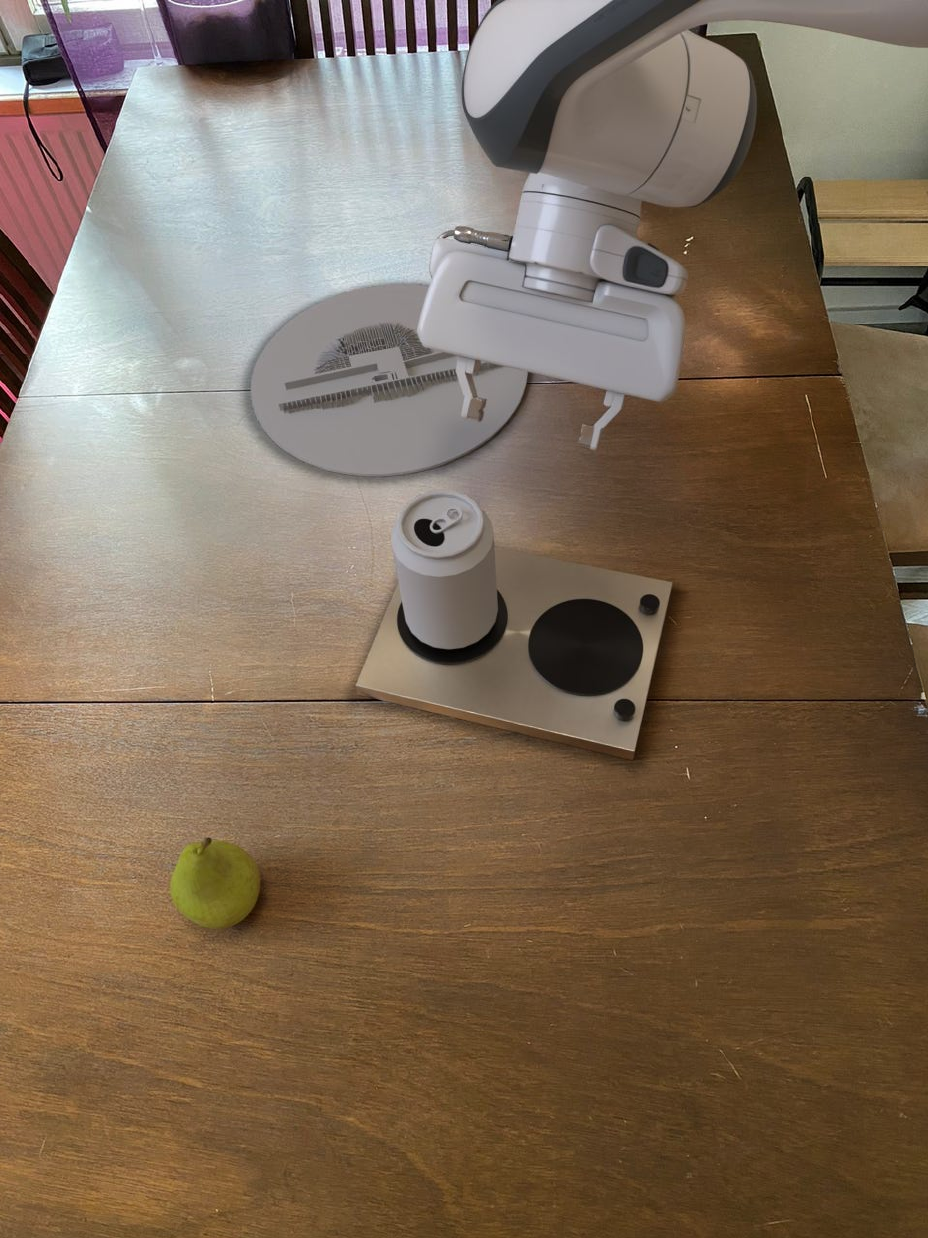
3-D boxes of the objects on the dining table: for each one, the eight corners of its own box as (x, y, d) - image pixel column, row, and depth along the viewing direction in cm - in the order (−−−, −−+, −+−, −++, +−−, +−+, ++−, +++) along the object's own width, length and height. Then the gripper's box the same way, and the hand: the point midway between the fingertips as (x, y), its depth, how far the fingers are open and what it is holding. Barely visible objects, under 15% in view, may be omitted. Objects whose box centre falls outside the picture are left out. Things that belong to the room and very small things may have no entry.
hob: (670, 592, 81) (674, 576, 79) (632, 760, 72) (635, 746, 70) (420, 542, 85) (418, 525, 83) (357, 695, 77) (353, 680, 75)
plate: (264, 501, 89) (261, 492, 88) (241, 312, 105) (238, 303, 104) (559, 444, 91) (559, 435, 90) (493, 267, 107) (492, 257, 106)
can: (388, 607, 79) (368, 511, 69) (464, 565, 81) (455, 465, 71) (437, 671, 75) (423, 579, 66) (516, 624, 77) (514, 528, 68)
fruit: (178, 882, 69) (118, 814, 59) (256, 848, 70) (210, 776, 60) (199, 957, 66) (140, 899, 56) (281, 920, 67) (237, 857, 57)
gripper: (426, 215, 70) (391, 405, 74) (706, 274, 67) (653, 469, 71) (448, 225, 76) (414, 401, 80) (706, 279, 73) (657, 459, 77)
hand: (528, 433), depth 76 cm, fingers open, 8 cm apart
